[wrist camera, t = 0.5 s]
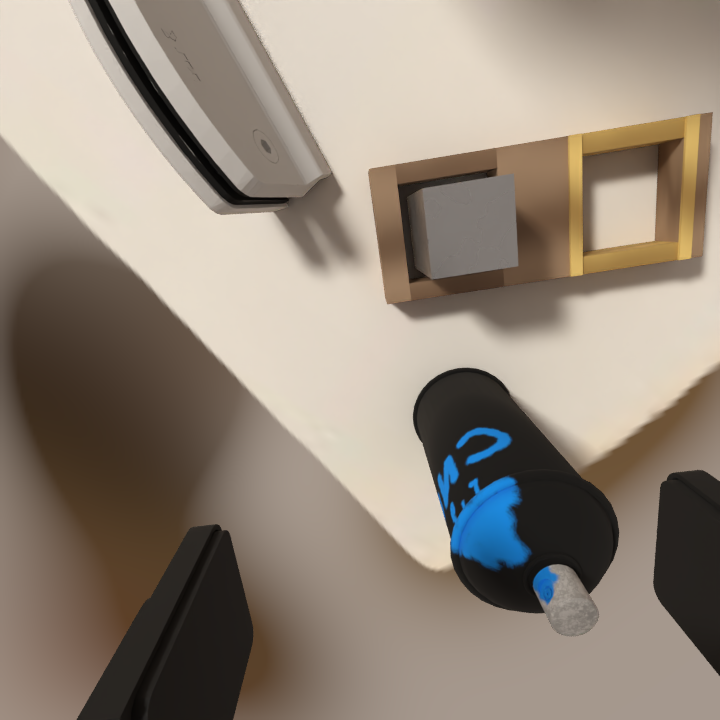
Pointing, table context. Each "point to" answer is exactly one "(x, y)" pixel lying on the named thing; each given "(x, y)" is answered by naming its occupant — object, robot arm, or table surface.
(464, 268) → the grey rectangular block
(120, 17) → the gray curved box
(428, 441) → the aerosol can
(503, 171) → the wooden slotted tray
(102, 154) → the table surface
